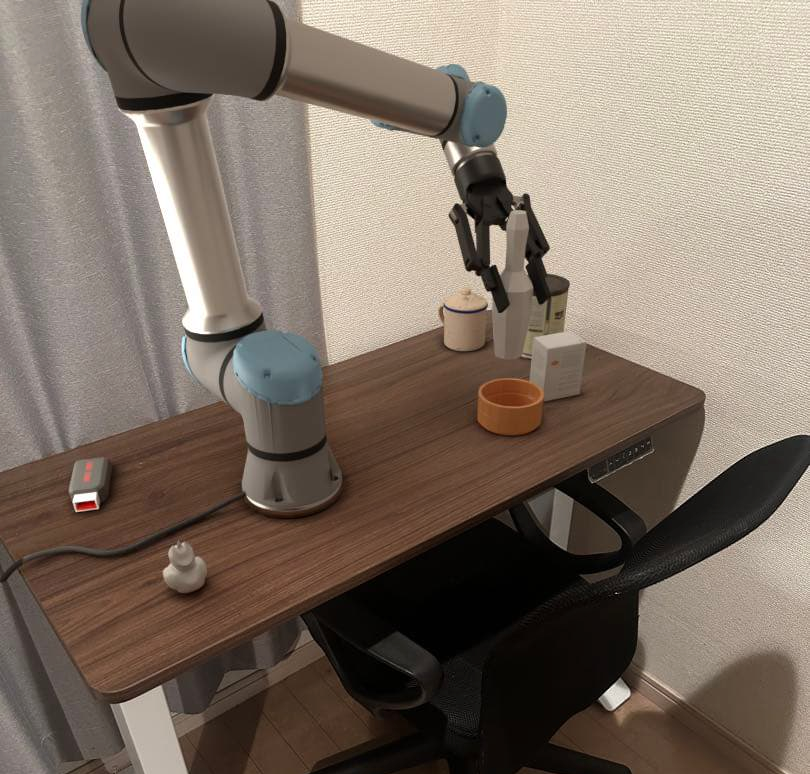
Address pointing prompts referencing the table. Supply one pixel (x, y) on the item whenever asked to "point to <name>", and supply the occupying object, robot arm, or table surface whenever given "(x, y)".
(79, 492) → the usb drive
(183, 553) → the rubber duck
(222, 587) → the table surface
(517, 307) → the low poly bottle
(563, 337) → the small box
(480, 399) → the bowl
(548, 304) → the coffee can
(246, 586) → the table surface
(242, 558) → the table surface
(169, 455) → the table surface
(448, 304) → the teacup with lid
